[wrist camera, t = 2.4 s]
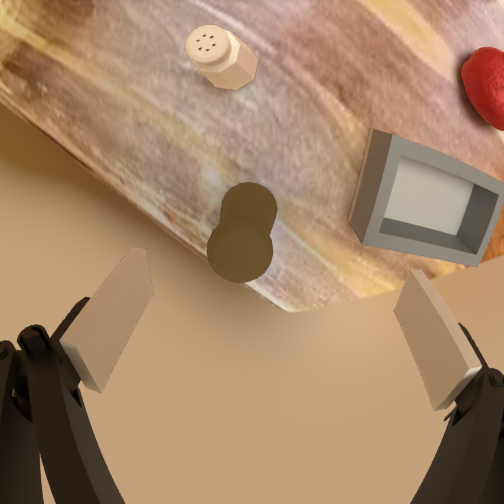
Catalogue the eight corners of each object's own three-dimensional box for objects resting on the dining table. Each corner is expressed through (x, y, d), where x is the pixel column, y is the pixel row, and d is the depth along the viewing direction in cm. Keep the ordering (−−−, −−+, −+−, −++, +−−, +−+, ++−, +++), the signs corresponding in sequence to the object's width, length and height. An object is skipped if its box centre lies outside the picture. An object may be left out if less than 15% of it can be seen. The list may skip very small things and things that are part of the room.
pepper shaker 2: (213, 191, 30) (184, 236, 20) (267, 175, 28) (265, 214, 19) (232, 240, 32) (215, 300, 23) (283, 226, 31) (287, 285, 22)
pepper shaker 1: (199, 49, 22) (158, 22, 13) (252, 37, 21) (240, -2, 12) (210, 96, 25) (173, 92, 15) (263, 85, 24) (258, 70, 14)
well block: (454, 243, 30) (477, 267, 25) (347, 219, 30) (362, 244, 25) (479, 170, 25) (508, 185, 20) (369, 128, 25) (392, 134, 20)
